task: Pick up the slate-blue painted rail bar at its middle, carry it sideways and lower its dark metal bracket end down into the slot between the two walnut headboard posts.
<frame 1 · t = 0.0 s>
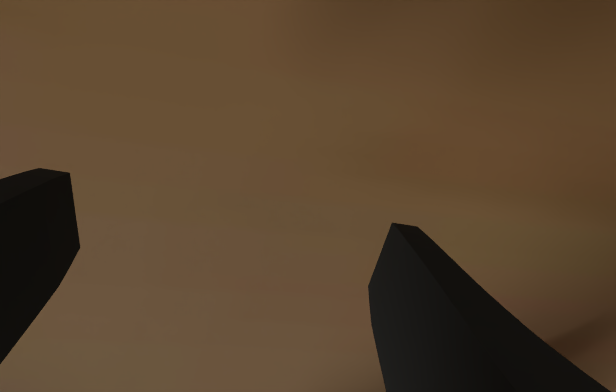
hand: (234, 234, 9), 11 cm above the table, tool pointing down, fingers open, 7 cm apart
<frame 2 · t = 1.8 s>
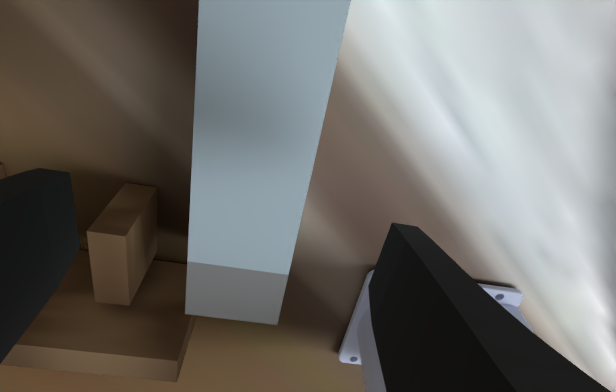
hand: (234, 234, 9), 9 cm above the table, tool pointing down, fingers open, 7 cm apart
rail: (265, 107, 17), on the table
headboard: (74, 238, 20), on the table
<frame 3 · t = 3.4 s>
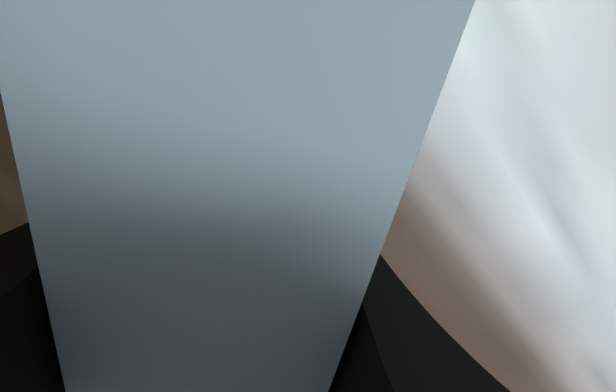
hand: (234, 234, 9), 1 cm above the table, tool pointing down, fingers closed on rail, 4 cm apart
rail: (242, 202, 10), on the table, touching gripper
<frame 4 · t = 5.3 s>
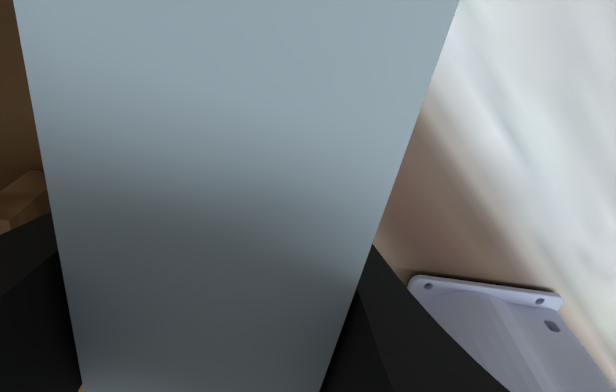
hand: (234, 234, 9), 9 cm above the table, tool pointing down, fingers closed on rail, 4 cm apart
rail: (245, 191, 10), point 8 cm above the table, touching gripper
headboard: (126, 246, 21), on the table
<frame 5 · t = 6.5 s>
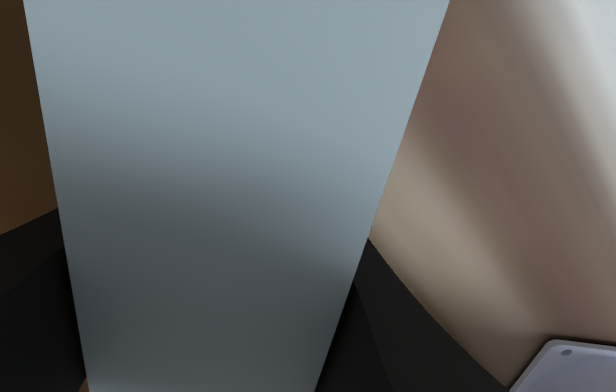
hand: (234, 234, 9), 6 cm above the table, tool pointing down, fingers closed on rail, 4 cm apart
rail: (245, 188, 10), point 4 cm above the table, touching gripper
when the fingers open (2 cm above the table, at t = 7.5 s): rail stays where it is, on the table.
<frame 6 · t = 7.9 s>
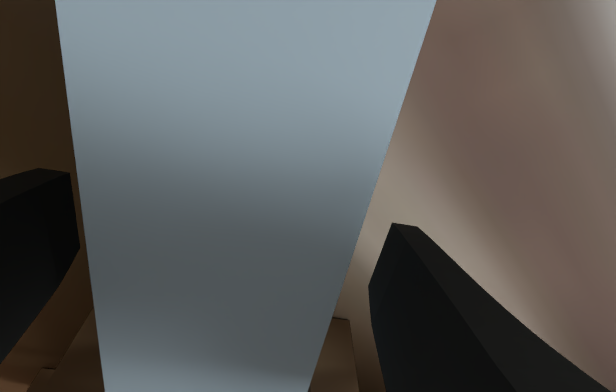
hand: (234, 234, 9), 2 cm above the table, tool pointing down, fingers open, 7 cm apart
rail: (247, 181, 11), on the table
headboard: (221, 374, 15), on the table
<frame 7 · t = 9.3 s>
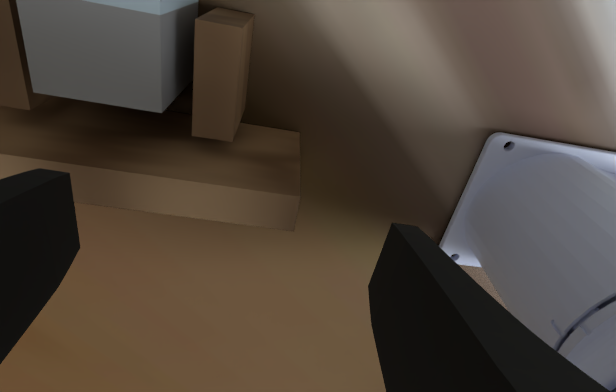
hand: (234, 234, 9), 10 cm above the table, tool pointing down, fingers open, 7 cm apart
headboard: (149, 91, 17), on the table
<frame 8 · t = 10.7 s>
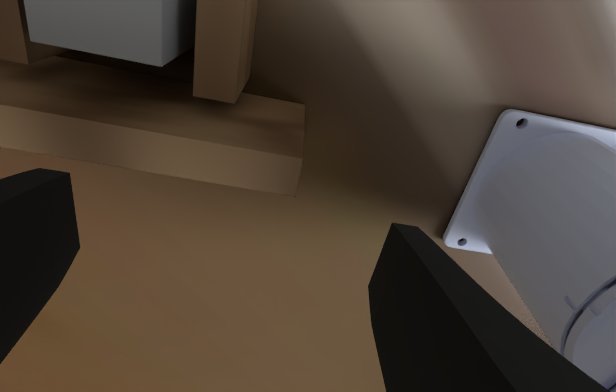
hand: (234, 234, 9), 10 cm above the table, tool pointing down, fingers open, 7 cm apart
headboard: (152, 58, 17), on the table
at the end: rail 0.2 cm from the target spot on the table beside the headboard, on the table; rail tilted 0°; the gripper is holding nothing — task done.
